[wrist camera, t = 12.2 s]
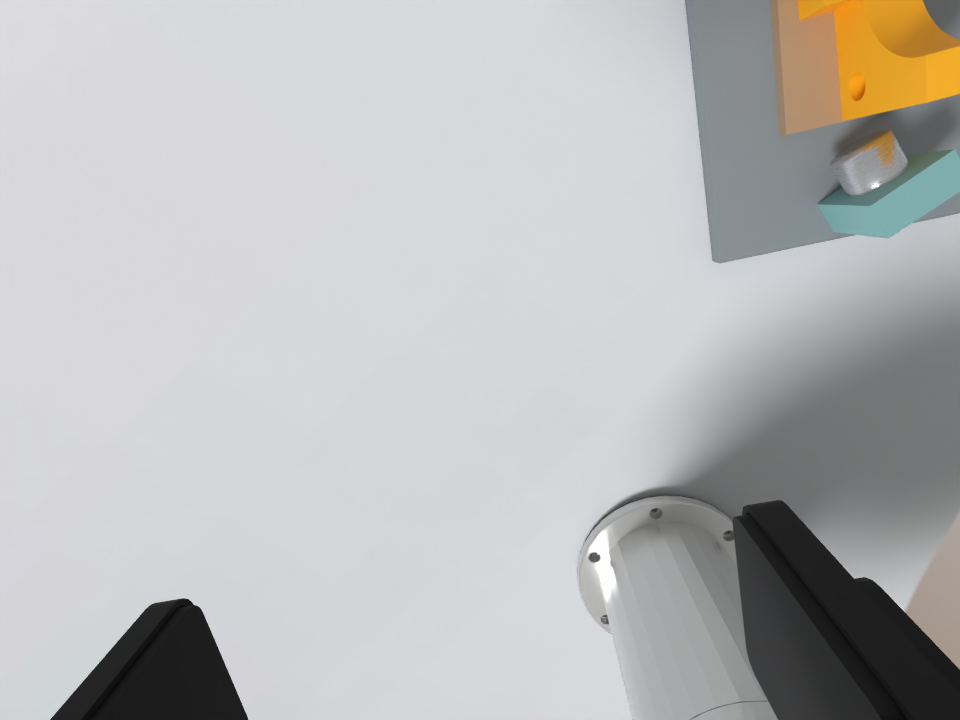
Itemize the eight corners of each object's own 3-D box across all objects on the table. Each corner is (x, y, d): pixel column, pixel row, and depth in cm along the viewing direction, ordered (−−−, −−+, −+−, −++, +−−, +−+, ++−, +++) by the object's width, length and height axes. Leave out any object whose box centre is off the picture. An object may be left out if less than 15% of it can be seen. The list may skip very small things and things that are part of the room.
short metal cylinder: (905, 199, 32) (945, 200, 29) (856, 232, 32) (890, 236, 30) (868, 132, 31) (905, 126, 28) (818, 167, 32) (850, 164, 29)
